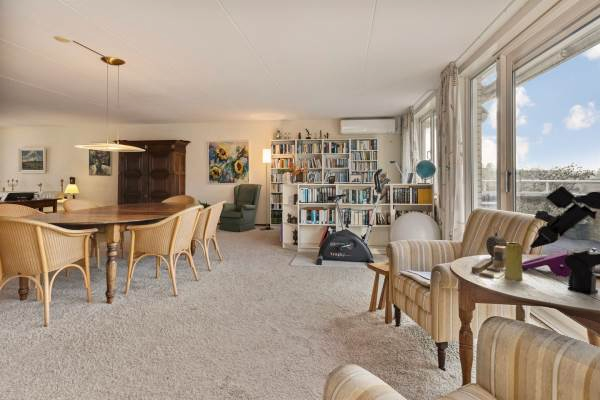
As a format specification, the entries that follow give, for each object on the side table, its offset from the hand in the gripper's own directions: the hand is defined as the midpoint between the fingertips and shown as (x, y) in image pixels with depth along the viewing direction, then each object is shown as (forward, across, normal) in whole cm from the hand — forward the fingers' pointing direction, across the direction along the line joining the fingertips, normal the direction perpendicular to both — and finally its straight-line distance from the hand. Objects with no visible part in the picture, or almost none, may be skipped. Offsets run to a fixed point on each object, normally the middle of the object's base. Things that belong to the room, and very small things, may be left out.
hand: (533, 245), depth 125 cm
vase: (+15, 0, +5) cm, 16 cm away
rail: (+21, -6, -2) cm, 22 cm away
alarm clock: (+25, -27, -5) cm, 37 cm away
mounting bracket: (+10, -19, +11) cm, 24 cm away
